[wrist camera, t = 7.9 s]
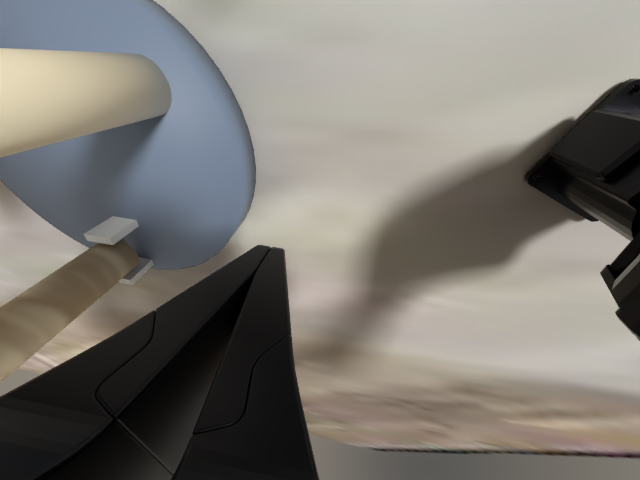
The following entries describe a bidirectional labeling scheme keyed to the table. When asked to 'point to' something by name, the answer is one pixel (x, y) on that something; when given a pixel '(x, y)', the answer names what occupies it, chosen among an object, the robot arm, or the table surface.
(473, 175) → the table surface
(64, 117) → the round peg stand
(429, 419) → the table surface
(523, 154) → the table surface
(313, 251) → the table surface
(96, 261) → the hinged leg
